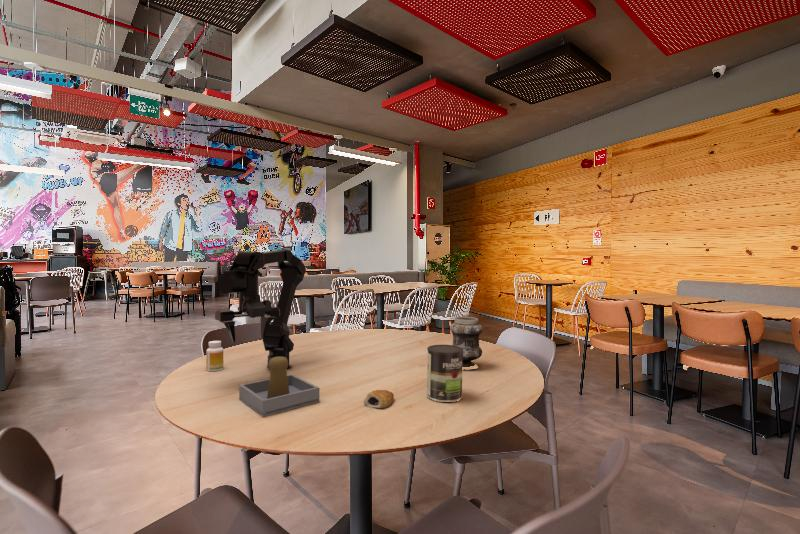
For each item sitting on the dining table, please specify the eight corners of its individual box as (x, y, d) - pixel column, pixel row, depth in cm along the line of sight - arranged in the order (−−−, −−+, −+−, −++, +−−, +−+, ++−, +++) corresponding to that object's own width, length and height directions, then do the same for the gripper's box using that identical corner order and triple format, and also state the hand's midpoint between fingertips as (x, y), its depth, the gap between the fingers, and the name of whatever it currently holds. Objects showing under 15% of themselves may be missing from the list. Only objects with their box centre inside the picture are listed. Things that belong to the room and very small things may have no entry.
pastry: (379, 396, 118) (379, 383, 117) (399, 400, 115) (400, 387, 114) (361, 406, 109) (362, 392, 109) (383, 411, 106) (384, 397, 106)
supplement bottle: (226, 368, 142) (226, 341, 142) (214, 372, 137) (214, 344, 137) (215, 366, 144) (215, 339, 144) (202, 370, 140) (202, 342, 139)
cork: (290, 399, 111) (291, 359, 110) (267, 401, 108) (267, 360, 108) (288, 391, 116) (288, 353, 116) (266, 394, 114) (266, 355, 114)
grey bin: (292, 387, 123) (292, 374, 123) (319, 402, 112) (319, 387, 111) (239, 399, 113) (239, 384, 113) (262, 417, 101) (262, 401, 101)
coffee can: (469, 399, 115) (470, 350, 115) (439, 405, 110) (439, 354, 110) (449, 388, 124) (449, 342, 124) (419, 393, 119) (420, 346, 119)
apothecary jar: (486, 365, 150) (487, 317, 150) (474, 373, 140) (475, 321, 139) (457, 360, 157) (457, 314, 156) (443, 367, 147) (443, 318, 146)
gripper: (226, 295, 115) (226, 349, 116) (287, 291, 128) (287, 340, 128) (214, 292, 124) (214, 342, 124) (272, 289, 136) (272, 335, 137)
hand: (248, 340), depth 128 cm, fingers open, 9 cm apart
